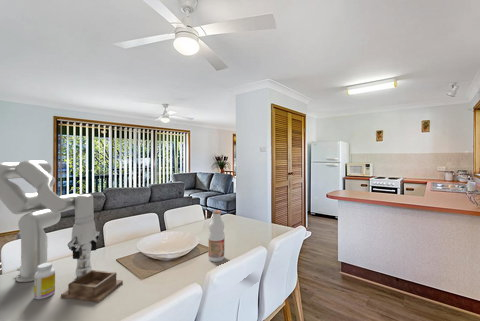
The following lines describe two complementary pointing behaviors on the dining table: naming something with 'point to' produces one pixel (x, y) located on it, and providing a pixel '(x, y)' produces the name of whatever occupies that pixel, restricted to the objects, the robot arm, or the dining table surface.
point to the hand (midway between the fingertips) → (85, 254)
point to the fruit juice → (216, 238)
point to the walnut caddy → (92, 286)
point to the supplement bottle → (44, 281)
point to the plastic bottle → (84, 260)
